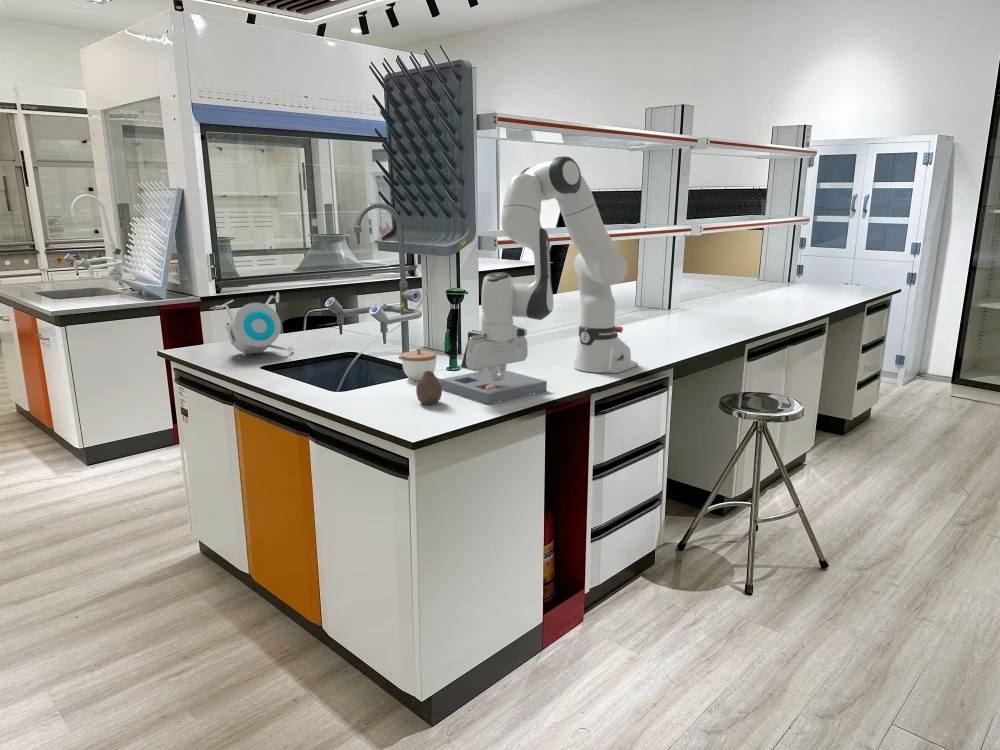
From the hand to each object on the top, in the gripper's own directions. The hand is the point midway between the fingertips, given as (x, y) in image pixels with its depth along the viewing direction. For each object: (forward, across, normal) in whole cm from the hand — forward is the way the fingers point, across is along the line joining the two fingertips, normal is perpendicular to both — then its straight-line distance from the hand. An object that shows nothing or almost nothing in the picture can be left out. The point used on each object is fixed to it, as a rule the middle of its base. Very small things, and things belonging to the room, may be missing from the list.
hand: (497, 380), depth 196 cm
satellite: (+5, -30, +99) cm, 104 cm away
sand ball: (0, +8, +10) cm, 13 cm away
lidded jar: (+5, -5, +31) cm, 32 cm away
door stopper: (+4, +19, +32) cm, 37 cm away
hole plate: (+4, +3, +5) cm, 7 cm away
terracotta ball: (+3, -2, 0) cm, 3 cm away
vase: (+5, -19, +6) cm, 21 cm away
